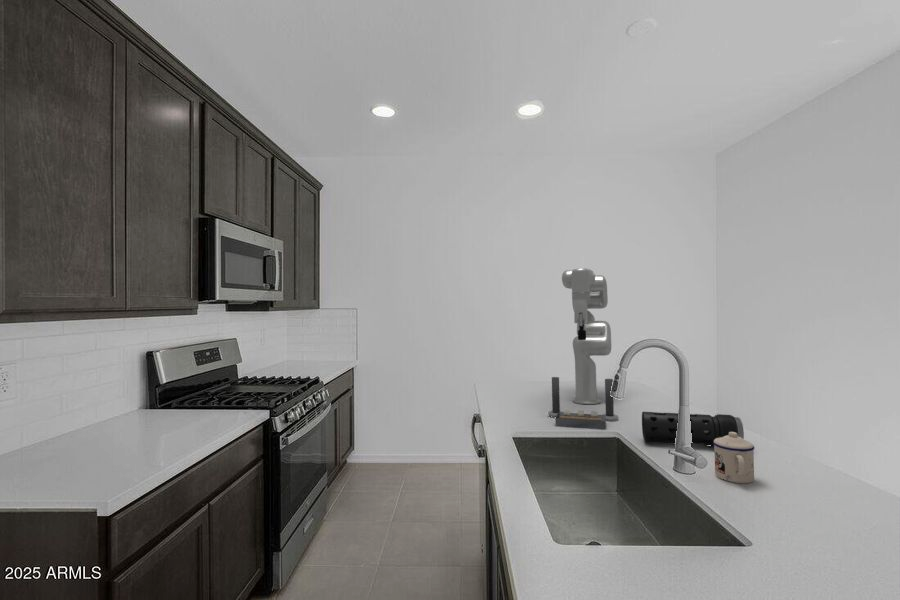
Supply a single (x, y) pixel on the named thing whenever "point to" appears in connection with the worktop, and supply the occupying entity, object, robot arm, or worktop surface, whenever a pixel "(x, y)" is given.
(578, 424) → the breaker panel
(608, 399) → the post
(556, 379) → the post
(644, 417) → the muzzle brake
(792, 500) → the worktop surface
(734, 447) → the teacup with lid
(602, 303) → the robot arm
